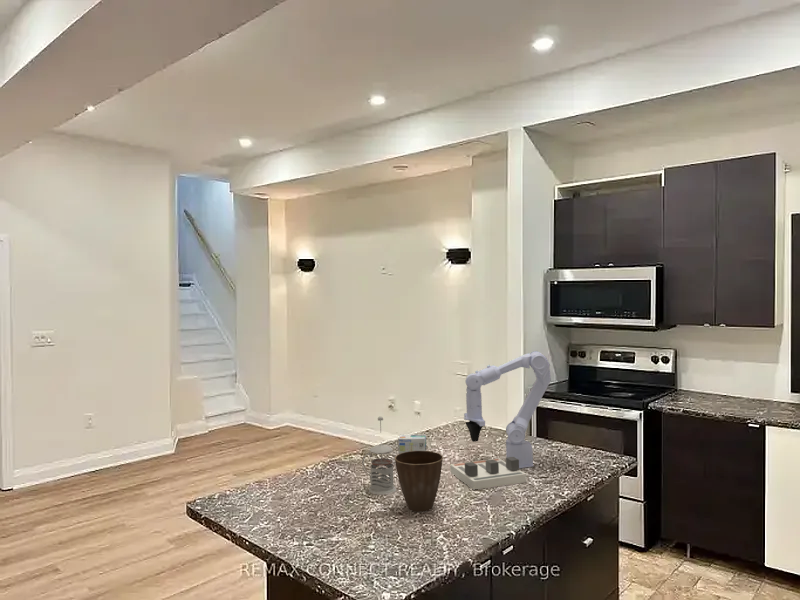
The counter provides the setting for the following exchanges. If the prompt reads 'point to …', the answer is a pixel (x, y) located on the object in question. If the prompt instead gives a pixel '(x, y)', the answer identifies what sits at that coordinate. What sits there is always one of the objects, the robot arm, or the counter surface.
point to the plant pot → (419, 478)
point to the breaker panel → (480, 478)
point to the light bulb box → (411, 443)
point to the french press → (381, 470)
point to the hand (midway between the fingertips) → (474, 441)
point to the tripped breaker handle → (492, 466)
